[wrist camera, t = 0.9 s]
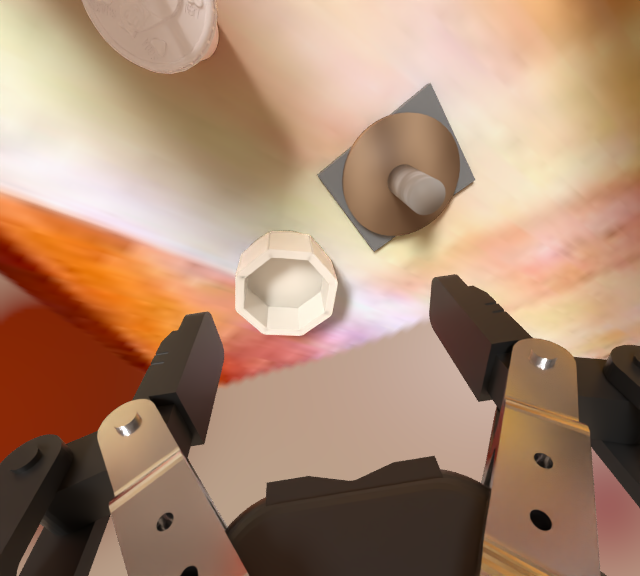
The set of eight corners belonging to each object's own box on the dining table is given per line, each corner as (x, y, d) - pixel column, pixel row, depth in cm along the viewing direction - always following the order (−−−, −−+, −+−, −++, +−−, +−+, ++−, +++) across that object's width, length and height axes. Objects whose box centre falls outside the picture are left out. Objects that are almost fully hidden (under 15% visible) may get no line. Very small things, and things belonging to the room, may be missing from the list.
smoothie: (254, 28, 24) (227, -44, 12) (207, 100, 26) (144, 101, 14) (176, -56, 21) (40, -255, 9) (130, 33, 23) (-28, -38, 11)
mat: (427, 83, 27) (430, 83, 26) (472, 178, 32) (475, 179, 31) (317, 174, 30) (317, 176, 29) (372, 249, 34) (374, 251, 34)
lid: (422, 82, 26) (464, 77, 20) (472, 187, 31) (517, 207, 25) (318, 167, 29) (328, 185, 23) (380, 252, 34) (401, 284, 28)
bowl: (291, 211, 31) (292, 229, 27) (345, 276, 36) (354, 300, 32) (222, 267, 34) (213, 292, 29) (281, 321, 38) (281, 349, 34)
